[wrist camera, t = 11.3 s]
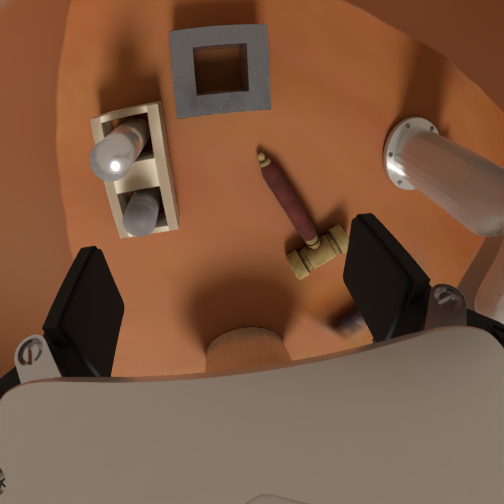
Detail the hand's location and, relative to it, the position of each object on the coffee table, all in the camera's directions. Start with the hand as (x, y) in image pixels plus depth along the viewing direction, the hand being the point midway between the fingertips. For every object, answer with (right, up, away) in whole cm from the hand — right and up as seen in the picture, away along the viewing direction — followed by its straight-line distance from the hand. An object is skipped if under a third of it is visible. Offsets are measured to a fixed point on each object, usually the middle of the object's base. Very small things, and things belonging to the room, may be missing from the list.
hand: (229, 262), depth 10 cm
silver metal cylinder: (-14, +15, +21) cm, 29 cm away
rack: (-14, +11, +24) cm, 30 cm away
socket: (-3, +22, +19) cm, 29 cm away
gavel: (+7, +7, +32) cm, 34 cm away
